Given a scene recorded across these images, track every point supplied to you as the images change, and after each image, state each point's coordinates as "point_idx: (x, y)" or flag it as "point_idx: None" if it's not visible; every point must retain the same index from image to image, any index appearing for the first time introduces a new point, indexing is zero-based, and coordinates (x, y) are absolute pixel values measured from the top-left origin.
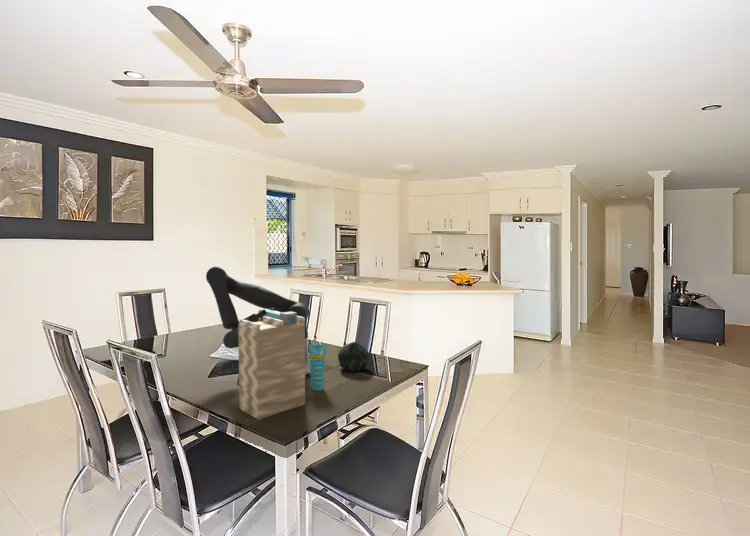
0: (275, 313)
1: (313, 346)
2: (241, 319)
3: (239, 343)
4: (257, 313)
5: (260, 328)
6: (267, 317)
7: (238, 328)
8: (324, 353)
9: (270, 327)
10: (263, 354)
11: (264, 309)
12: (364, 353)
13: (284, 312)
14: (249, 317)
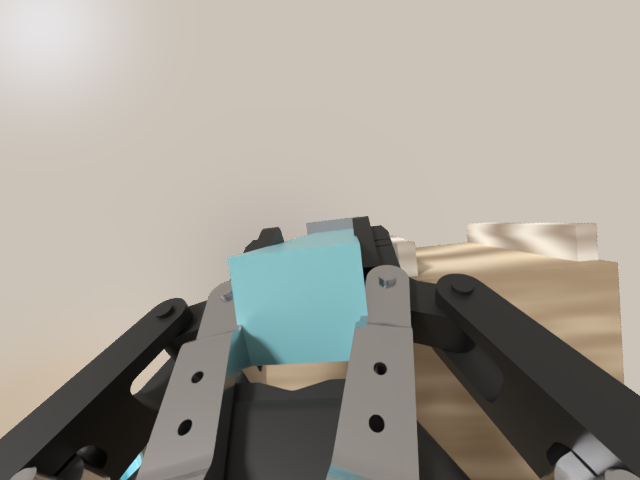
0: (347, 230)
1: (136, 461)
2: (577, 224)
3: None
4: (405, 275)
5: (463, 245)
6: (400, 238)
7: (616, 290)
8: (143, 455)
9: (424, 248)
10: None
11: (357, 217)
12: None
13: (339, 219)
14: (552, 357)
